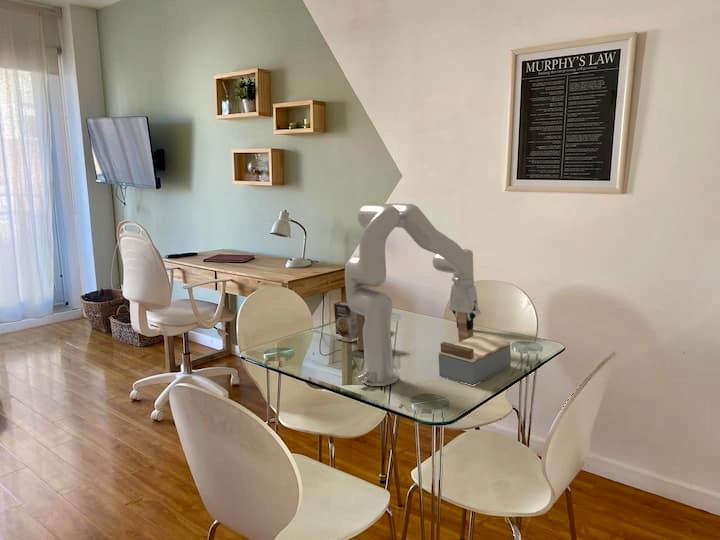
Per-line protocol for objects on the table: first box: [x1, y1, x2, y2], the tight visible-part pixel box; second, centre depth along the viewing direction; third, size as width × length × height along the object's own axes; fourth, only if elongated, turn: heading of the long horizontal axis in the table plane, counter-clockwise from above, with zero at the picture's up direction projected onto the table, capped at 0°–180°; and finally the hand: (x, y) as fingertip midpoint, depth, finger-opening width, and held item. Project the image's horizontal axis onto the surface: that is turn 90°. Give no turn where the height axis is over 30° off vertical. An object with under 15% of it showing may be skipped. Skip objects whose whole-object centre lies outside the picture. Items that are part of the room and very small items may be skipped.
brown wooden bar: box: [457, 311, 474, 343], centre depth 208 cm, size 4×4×18 cm
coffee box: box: [333, 300, 358, 340], centre depth 230 cm, size 9×6×16 cm
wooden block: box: [356, 313, 365, 351], centre depth 215 cm, size 4×11×18 cm, turn 85°
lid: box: [438, 334, 511, 363], centre depth 186 cm, size 22×14×4 cm, turn 133°
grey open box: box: [438, 344, 512, 385], centre depth 187 cm, size 22×14×8 cm, turn 133°
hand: (465, 327), depth 208 cm, fingers closed on brown wooden bar, 4 cm apart
